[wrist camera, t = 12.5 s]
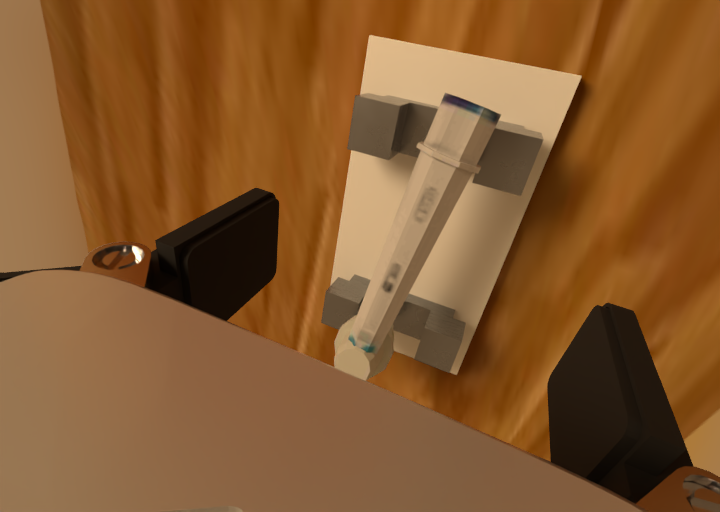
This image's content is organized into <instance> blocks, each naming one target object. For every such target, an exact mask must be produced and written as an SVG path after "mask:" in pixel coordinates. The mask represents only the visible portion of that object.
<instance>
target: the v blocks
mask: <svg viewBox="0 0 720 512" xmlns="http://www.w3.org/2000/svg"><path fill="white" fill-rule="evenodd" d="M438 108H439V107H438V106H434V105H429V104H425V103H421V102H416V101H412V100H408V99H403V98H399V97H395V96H390V95H387V96H380V95H375V94H371V93H366V94H361V95H355V101H354V108H353V115H352V121H351V128H350V135H349V141H348V148H347V149H349V150H353V151H357V152H360V153H364V154H368V155H371V156H375V157H379V158H382V159H386V160H390V159H391V158H393V157H394V156H395V155H397V154H398V153H402V154H405V155H409V156H413V157H417V158H418V156H419V154H420V151H421V150H420V149H418V148H417V144H418V142H422V141H423V142H424V141H425V139H426V137H427V134H428V132H429V130H430V127H431V125H432V122H433V120H434V118H435V115H436V113H437V111H438ZM543 140H544V139H543V136H542V133H540V132H536V131H531V130H527V129H524V126H521V125H517V124H512V123H508V122H504V121H498V123H497V125H496V127H495V129H494V131H493V133H492V135H491V137H490V139H489V141H488V143H487V145H486V147H485V149H484V151H483V153H482V155H481V157H480V159H479V161H478V163H477V164H478V165H480V166H481V169H480V171H479V173H475V176H474V179H473V182H472V183H474V184H478V185H482V186H486V187H489V188H493V189H497V190H500V191H504V192H508V193H511V194H515V195H519V196H521V194H522V192H523V189H524V187H525V185H526V182H527V180H528V177H529V175H530V172H531V170H532V167H533V165H534V162H535V160H536V157H537V155H538V152H539V150H540V147H541V145H542V142H543ZM473 173H474V172H473ZM370 281H371V280H369V279H367V278H364V277H361V276H358V275H355V274H354V276H353V277H352V278H351V279H350V281H348V280H345V279H342V278H340V277H338V278H337V279H336V280H335V281H334V283H333V284H332V285H331V286H330V287H329V288H328V290H327V291H326V295H325V302H324V308H323V315H322V322H321V323H323V324H326V325H329V326H331V327H334V328H336V329H339V330H340V328H341V326H342V325H343V324H344V323H345V322H347V321H348V320H350V319H351V318H352V317H354V316H356V315H357V314H358V312H359V309H360V306H361V304H362V301H363V299H364V296H365V293H366V291H367V288H368V286H369V283H370ZM454 313H455V310H454V309H451V308H449V307H446V306H443V305H440V304H437V303H435V302H432V301H429V300H426V299H423V298H420V297H418V296H415V295H412V294H408V296H407V298H406V300H405V301H404V303H403V305H402V307H401V309H400V311H399V313H398V315H397V317H396V318H395V320H394V322H393V325H394V327H393V330H395V331H397V332H400V333H403V334H405V335H408V336H411V337H413V338H416V339H418V340H420V343H419V346H418V349H417V352H416V355H415V358H414V359H415V360H417V361H420V362H423V363H425V364H428V365H430V366H433V367H435V368H438V369H440V370H443V371H445V372H448V373H450V370H451V368H452V365H453V363H454V360H455V358H456V355H457V353H458V350H459V348H460V346H461V343H462V339H463V335H464V330H465V325H466V323H465V322H462V321H460V320H457V319H454V318H453V317H454Z"/></svg>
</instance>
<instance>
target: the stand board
mask: <svg viewBox="0 0 720 512" xmlns="http://www.w3.org/2000/svg"><path fill="white" fill-rule="evenodd" d="M581 77H582V76H580V75H575V74H570V73H564V72H559V71H554V70H549V69H544V68H538V67H533V66H528V65H523V64H518V63H513V62H507V61H502V60H497V59H492V58H487V57H481V56H476V55H471V54H466V53H461V52H455V51H450V50H445V49H440V48H435V47H429V46H424V45H419V44H414V43H409V42H403V41H398V40H393V39H388V38H383V37H377V36H372V35H369V41H368V47H367V54H366V60H365V67H364V73H363V80H362V86H361V92H360V95H361V94H366V93H371V94H375V95H380V96H387V95H390V96H395V97H399V98H403V99H408V100H412V101H416V102H421V103H425V104H429V105H434V106H438V107H439V106H440V104H441V101H442V99H443V96H444V94H445V93H448V94H451V95H454V96H457V97H460V98H462V99H465V100H467V101H470V102H472V103H475V104H478V105H480V106H483V107H485V108H487V109H490V110H492V111H494V112H496V113H499V114H501V117H500V119H499V121H504V122H508V123H512V124H517V125H521V126H524V129H527V130H531V131H536V132H540V133H542V136H543V139H544V140H543V142H542V145H541V147H540V150H539V152H538V155H537V157H536V160H535V162H534V165H533V167H532V170H531V172H530V175H529V177H528V180H527V182H526V185H525V187H524V189H523V192H522V194H521V196H519V195H515V194H511V193H508V192H504V191H500V190H497V189H493V188H489V187H486V186H482V185H478V184H474V183H472V182H473V179H474V176H475V173H472V175H471V177H470V179H469V181H468V183H467V184H466V186H465V188H464V190H463V192H462V194H461V196H460V198H459V200H458V201H457V203H456V205H455V207H454V209H453V211H452V213H451V215H450V217H449V218H448V220H447V222H446V224H445V226H444V228H443V230H442V232H441V234H440V235H439V237H438V239H437V241H436V243H435V245H434V247H433V249H432V251H431V252H430V254H429V256H428V258H427V260H426V262H425V264H424V266H423V267H422V269H421V271H420V273H419V275H418V277H417V279H416V281H415V283H414V284H413V286H412V288H411V290H410V292H409V294H412V295H415V296H418V297H420V298H423V299H426V300H429V301H432V302H435V303H437V304H440V305H443V306H446V307H449V308H451V309H454V310H455V313H454V317H453V318H454V319H457V320H460V321H462V322H465V323H466V325H465V330H464V335H463V339H462V343H461V346H460V348H459V350H458V353H457V355H456V358H455V360H454V363H453V365H452V368H451V370H450V373H452V374H455V375H457V373H458V371H459V368H460V366H461V363H462V361H463V359H464V356H465V354H466V352H467V349H468V347H469V344H470V342H471V340H472V337H473V335H474V332H475V330H476V328H477V325H478V323H479V320H480V318H481V316H482V313H483V311H484V309H485V306H486V304H487V301H488V299H489V297H490V294H491V292H492V289H493V287H494V285H495V282H496V280H497V277H498V275H499V273H500V270H501V268H502V266H503V263H504V261H505V258H506V256H507V254H508V251H509V249H510V246H511V244H512V242H513V239H514V237H515V235H516V232H517V230H518V227H519V225H520V223H521V220H522V218H523V215H524V213H525V211H526V208H527V206H528V203H529V201H530V199H531V196H532V194H533V192H534V189H535V187H536V184H537V182H538V180H539V177H540V175H541V172H542V170H543V168H544V165H545V163H546V160H547V158H548V156H549V153H550V151H551V149H552V146H553V144H554V141H555V139H556V137H557V134H558V132H559V129H560V127H561V125H562V122H563V120H564V118H565V115H566V113H567V110H568V108H569V106H570V103H571V101H572V98H573V96H574V94H575V91H576V89H577V86H578V84H579V82H580V79H581ZM417 159H418V158H417V157H413V156H409V155H405V154H402V153H398V154H397V155H395V156H394V157H393V158H391V159H390V160H386V159H382V158H379V157H375V156H371V155H368V154H364V153H360V152H357V151H353V150H351V157H350V163H349V170H348V176H347V182H346V189H345V195H344V202H343V208H342V215H341V221H340V227H339V234H338V240H337V247H336V253H335V260H334V266H333V272H332V279H331V285H332V284H333V283H334V281H335V280H336V279H337V278H338V277H340V278H342V279H345V280H348V281H350V279H351V278H352V277H353V276H354V274H355V275H358V276H361V277H364V278H367V279H369V280H371V278H372V275H373V273H374V270H375V268H376V265H377V262H378V260H379V257H380V255H381V252H382V249H383V247H384V244H385V242H386V239H387V236H388V234H389V231H390V229H391V226H392V224H393V221H394V218H395V216H396V213H397V211H398V208H399V205H400V203H401V200H402V198H403V195H404V192H405V190H406V187H407V185H408V182H409V179H410V177H411V174H412V172H413V169H414V166H415V164H416V161H417ZM331 285H330V286H331ZM393 332H394V339H395V340H394V342H393V346H394V351H396V352H399V353H402V354H404V355H407V356H409V357H412V358H415V355H416V352H417V349H418V346H419V343H420V340H418V339H416V338H413V337H411V336H408V335H405V334H403V333H400V332H397V331H395V330H393Z"/></svg>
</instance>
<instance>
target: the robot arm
mask: <svg viewBox="0 0 720 512" xmlns="http://www.w3.org/2000/svg"><path fill="white" fill-rule="evenodd" d="M278 219H279V201H278V200H277V199H275V195H274V194H273V193H271V192H268V191H265V190H262V189H259V188H254V189H252V190H250V191H248V192H247V193H245V194H243V195H241V196H239V197H237V198H235V199H233V200H231V201H229V202H227V203H226V204H224V205H222V206H220V207H218V208H216V209H214V210H212V211H210V212H208V213H207V214H205V215H203V216H201V217H199V218H197V219H195V220H193V221H191V222H189V223H187V224H186V225H184V226H182V227H180V228H178V229H176V230H174V231H172V232H170V233H168V234H167V235H165V236H163V237H161V238H159V239H157V240H155V241H156V247H157V249H156V250H154V251H152V252H151V251H150V249H149V248H148V247H147V246H145V245H143V244H140V243H135V242H115V243H110V244H106V245H103V246H100V247H98V248H96V249H94V250H93V251H91V252H90V253H89V254H88V255H87V256H86V257H85V259H84V262H83V264H82V266H75V267H64V268H53V269H41V270H30V271H19V272H7V273H0V512H720V477H718V476H716V475H715V474H713V473H711V472H709V471H706V470H703V469H700V468H697V467H693V464H692V462H691V459H690V456H689V454H688V451H687V449H686V446H685V443H684V441H683V438H682V435H681V433H680V430H679V427H678V425H677V422H676V420H675V417H674V414H673V412H672V409H671V407H670V404H669V401H668V399H667V396H666V393H665V391H664V388H663V386H662V383H661V380H660V378H659V376H658V373H657V370H656V368H655V365H654V363H653V360H652V357H651V355H650V352H649V349H648V347H647V344H646V341H645V339H644V336H643V334H642V331H641V328H640V326H639V323H638V320H637V318H636V315H635V313H634V311H632V310H629V309H626V308H623V307H620V306H617V305H614V304H610V303H606V304H605V305H603V307H602V306H599V305H597V306H595V307H594V308H593V309H592V311H591V312H590V314H589V316H588V317H587V319H586V320H585V322H584V323H583V325H582V327H581V328H580V330H579V331H578V333H577V334H576V336H575V337H574V339H573V341H572V342H571V344H570V345H569V347H568V348H567V350H566V352H565V353H564V355H563V356H562V358H561V359H560V361H559V363H558V364H557V366H556V367H555V369H554V370H553V372H552V374H551V375H550V378H549V381H548V409H549V431H550V453H551V462H549V461H547V460H545V459H543V458H540V457H538V456H536V455H534V454H531V453H529V452H527V451H524V450H522V449H520V448H518V447H515V446H513V445H511V444H509V443H506V442H504V441H502V440H499V439H497V438H495V437H493V436H490V435H488V434H486V433H483V432H481V431H479V430H477V429H474V428H472V427H470V426H468V425H465V424H463V423H461V422H458V421H456V420H454V419H452V418H449V417H447V416H445V415H442V414H440V413H438V412H436V411H433V410H431V409H429V408H427V407H424V406H422V405H420V404H417V403H415V402H413V401H411V400H408V399H406V398H404V397H402V396H399V395H397V394H395V393H392V392H390V391H388V390H385V389H383V388H381V387H379V386H376V385H374V384H372V383H369V382H367V381H365V380H362V379H360V378H358V377H356V376H353V375H351V374H349V373H346V372H344V371H342V370H339V369H337V368H335V367H332V366H330V365H328V364H325V363H323V362H321V361H319V360H316V359H314V358H312V357H309V356H307V355H305V354H302V353H300V352H298V351H295V350H293V349H291V348H288V347H286V346H284V345H281V344H279V343H277V342H274V341H272V340H270V339H267V338H265V337H263V336H260V335H258V334H256V333H253V332H251V331H249V330H246V329H244V328H241V327H239V326H237V325H234V324H232V323H230V322H227V320H228V319H229V318H230V317H231V316H232V315H234V314H235V313H236V312H237V311H238V310H239V309H240V308H241V307H242V306H243V305H245V304H246V303H247V302H248V301H249V300H250V299H251V298H252V297H253V296H254V295H256V294H257V293H258V292H259V291H260V290H261V289H262V288H263V287H264V286H265V285H267V284H268V283H269V282H270V281H271V280H272V279H273V277H274V275H275V273H276V266H277V242H278Z"/></svg>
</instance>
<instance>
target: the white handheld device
mask: <svg viewBox="0 0 720 512" xmlns="http://www.w3.org/2000/svg"><path fill="white" fill-rule="evenodd" d="M500 117H501V114H499V113H496V112H494V111H492V110H490V109H487V108H485V107H483V106H480V105H478V104H475V103H472V102H470V101H467V100H465V99H462V98H460V97H457V96H454V95H451V94H448V93H445V94H444V96H443V99H442V101H441V104H440V106H439V108H438V111H437V113H436V115H435V118H434V120H433V122H432V125H431V127H430V130H429V132H428V134H427V137H426V139H425V141H424V142H423V141H422V142H418V144H417V148H418V149H420V150H421V151H420V154H419V156H418V159H417V161H416V164H415V166H414V169H413V172H412V174H411V177H410V179H409V182H408V185H407V187H406V190H405V192H404V195H403V198H402V200H401V203H400V205H399V208H398V211H397V213H396V216H395V218H394V221H393V224H392V226H391V229H390V231H389V234H388V236H387V239H386V242H385V244H384V247H383V249H382V252H381V255H380V257H379V260H378V262H377V265H376V268H375V270H374V273H373V275H372V278H371V281H370V283H369V286H368V288H367V291H366V293H365V296H364V299H363V301H362V304H361V306H360V309H359V312H358V314H357V315H356V316H354V317H352V318H351V319H350V320H348V321H347V322H345V323H344V324H343V325H342V326H341V328H340V330H339V332H338V334H337V337H336V339H335V342H334V343H335V353H336V355H335V357H334V364H335V368H337V369H339V370H342V371H344V372H346V373H349V374H351V375H353V376H356V377H358V378H360V379H362V380H365V381H366V380H368V379H369V378H371V377H373V376H375V375H376V374H378V373H380V372H381V371H383V370H384V369H385V368H386V366H387V364H388V362H389V360H390V358H391V356H392V354H393V352H394V346H393V342H394V340H395V339H394V332H393V327H394V325H393V322H394V320H395V318H396V317H397V315H398V313H399V311H400V309H401V307H402V305H403V303H404V301H405V300H406V298H407V296H408V294H409V292H410V290H411V288H412V286H413V284H414V283H415V281H416V279H417V277H418V275H419V273H420V271H421V269H422V267H423V266H424V264H425V262H426V260H427V258H428V256H429V254H430V252H431V251H432V249H433V247H434V245H435V243H436V241H437V239H438V237H439V235H440V234H441V232H442V230H443V228H444V226H445V224H446V222H447V220H448V218H449V217H450V215H451V213H452V211H453V209H454V207H455V205H456V203H457V201H458V200H459V198H460V196H461V194H462V192H463V190H464V188H465V186H466V184H467V183H468V181H469V179H470V177H471V175H472V173H473V172H474V173H479V171H480V169H481V166H480V165H478V164H477V163H478V161H479V159H480V157H481V155H482V153H483V151H484V149H485V147H486V145H487V143H488V141H489V139H490V137H491V135H492V133H493V131H494V129H495V127H496V125H497V123H498V121H499V119H500Z"/></svg>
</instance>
